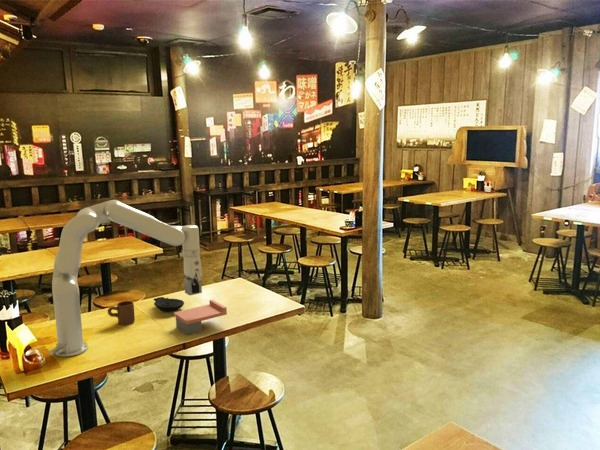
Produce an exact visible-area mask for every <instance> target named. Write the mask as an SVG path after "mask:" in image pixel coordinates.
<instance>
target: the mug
mask: <svg viewBox="0 0 600 450" xmlns="http://www.w3.org/2000/svg"><path fill="white" fill-rule="evenodd" d="M113 310H114V311H116V312H112V311H113ZM107 314H108V316H110V317H112V318H115V317H116V318H117V323H118V324H119V325H121V326H122V325H124V326H125V325H131V324H133V323H135V320H136V319H135V318H136V317H135V304H134V302H133V301H131V300H126V301H120V302H118V303H117V304H116V306H114V305H113V306H110V307H109V308H107Z"/></svg>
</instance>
